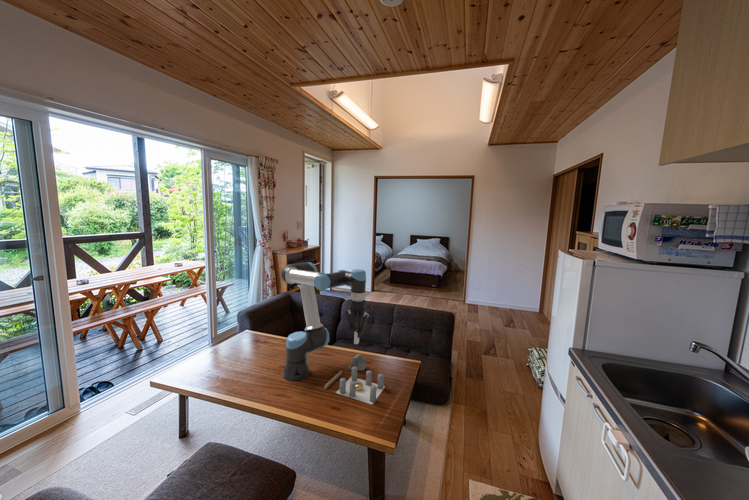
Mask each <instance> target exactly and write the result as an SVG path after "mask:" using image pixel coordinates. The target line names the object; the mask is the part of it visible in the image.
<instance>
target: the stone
mask: <svg viewBox="0 0 749 500" xmlns="http://www.w3.org/2000/svg"><path fill="white" fill-rule="evenodd" d="M367 365H368V364H367V360H366V358H365V356H364V355H363V354H360V353H357V354H356V355H355V356H353V358H352V359H351V361H350V363H349V367H348V370H349V371H351V372H352V367H357V372H358V371H366V369H367Z"/></svg>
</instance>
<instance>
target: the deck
mask: <svg viewBox="0 0 749 500" xmlns="http://www.w3.org/2000/svg"><path fill="white" fill-rule="evenodd" d="M365 371H366V372H365V380H364V379H360V378H358V371H357V367H352V371H351V376H350V377H349V379H346V377H341V378H340V379H339V389H338V390H337V391H335V394H339V395H341V396H344V397H346V398H351V399H354V400H356V401H359V402H362V403H366V404H369V405H373V404H374V403H376V402H377V399H378V397H379V396H380V395H381V393H382V392H383V390H384V389H386V386H384V385H385V384H384V382H385V381H384V380H385V375H384V374H383V373H378V374H377V383H374V382H373V381H372V379H373V370H365ZM342 374H343V370H339V372H338V373H336V374H335V375H334V376H333V377H332V378H331V379H329V381H328V382H327V383H325V384H324V386H323V387H324V388H323V390H327V389H328V388H329V387H330V386H331V385H332V384H333V383H334V382H335V381H336V380H337V379H338V378H339V377H340V376H342ZM356 383H362V384H363V389H362V390H361V391H356Z"/></svg>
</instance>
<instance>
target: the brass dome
mask: <svg viewBox="0 0 749 500" xmlns="http://www.w3.org/2000/svg"><path fill="white" fill-rule="evenodd" d="M362 389H363V384H362V383H356V391H361V390H362Z"/></svg>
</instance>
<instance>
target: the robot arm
mask: <svg viewBox="0 0 749 500" xmlns="http://www.w3.org/2000/svg"><path fill="white" fill-rule="evenodd" d="M280 277H281V280H282V281H283V282H284V283H286V284H290V285H294V284H296V286H297V288H299V290H300V296H301V302H302V307H303V314H304V320H305V325H306V326H305V328H304V331H295V332H293V333H290V334H288V336H287V338H286V343H285V351H286V352H285V359H286V360H285V365H284V367H283V371H282V376H283V377H284V378H285V379H286V380H288V381H298V380H299V381H300V380H303V379H305V378H307V377H308V376H309V375H310V370H311V369H310V365H309V362H308V354H310V353H312V352H314V351H317V350H321V349H322V348H323V349H324V347H327V345H328V344H329V342H330V332H329V331H328V328H326V327H325V326H324V324H322V323H321V319H320V314H319V307H318V302H317V296H316V290H318V291H321V290H323V291H324V290H327V289H333V288H337V287H341V286H348V287H350V308H349V309H348V310H346V311H345V314H346V316H347V320H348V327H349V330H352V337H353V344H354V345H358V344H359V343H360V338H361V337H362V332H363V331H365V329H366V325H367V321H368V318H369V316H370V313H367V312H366V309H365V307H366V285H367V272H366V270H364V269H359V268H357V269H356V268H355V269H352V270H351V271H348V270H345V269H338V270H336V271H335V272H330V273H324V272H319V271H318V268H317V266H316V265H315V263H312V262H298V263H289V264H287V265H285V266H283V268H282V269H281V271H280ZM315 288H316V290H315ZM362 318H363V319H362Z"/></svg>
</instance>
